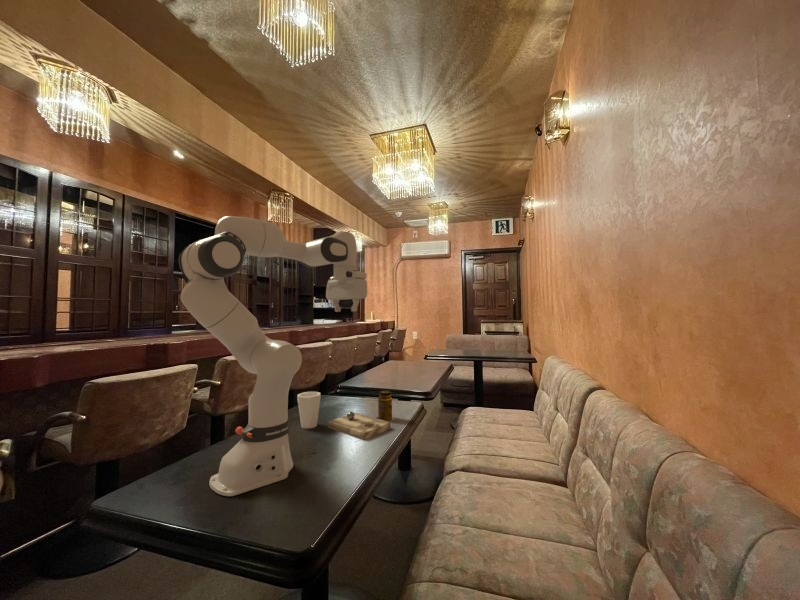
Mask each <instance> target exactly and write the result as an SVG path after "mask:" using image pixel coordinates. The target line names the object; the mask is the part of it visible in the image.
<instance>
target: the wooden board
mask: <svg viewBox="0 0 800 600" xmlns="http://www.w3.org/2000/svg"><path fill="white" fill-rule="evenodd" d="M353 413H354V414H355V416H354V418H353V419H352V420H349V419H348V418H347V414H346V415H344V416H339V417H337V418H335V419H332V420H328V421H327V428H328V429H330V430H332V431H333V430H334V431H337V432H339V433H342V434H345V435H348V436H351V437H354V438H355V439H359V440H362V441H365V440H367V439H369V438H372V437H374V436H376V435H379V434H381V433H384V432H386V431H388V430H390V429H392V428H391V421H388V422H387V421H384V420H380V419H377V417H372V416H369V415H365V414H362V413H358V412H353Z"/></svg>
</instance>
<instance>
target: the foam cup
mask: <svg viewBox="0 0 800 600" xmlns="http://www.w3.org/2000/svg"><path fill="white" fill-rule="evenodd" d="M296 396H297V397H296V398H297V399H296V400H297V405H298V406H297V407H298V414H299V418H300V419H299V420H300V426H301V428H302V429H307V430H309V429H314V428H315V427H317V426H318V419H319V412H320V404H321V399H322V398H321V397H322V396H321V392H318V391H306V392H305V391H303V392H301V393H298V394H297V395H296Z"/></svg>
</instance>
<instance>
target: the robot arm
mask: <svg viewBox="0 0 800 600" xmlns="http://www.w3.org/2000/svg"><path fill="white" fill-rule="evenodd" d="M245 255H246V256H251V257H259V258H281V259H286V260H290V261H291V260H292V261H296V262H298V263H299V264H301V265H303V266H305V267H306V268H310V269H311V268H316V267H321V266H326V265H331V264H332V265H333V276H330V277H329V279H328V280H327V284H326V289H325V298H326V300H328V301H332V305H333V306H334V312H336V313H338V312H339V313H340V312H341V311H342V307H341V306H340V304H339V303H340V300H341V301H343V300H352V303H353V304H352V306H350V310H351V311H350V312H357V311H358V306H359V303H360V299H366V298H367V296H368V282H367V280H366V279H367V277H368V275H367V273H366V272H363V271H360V270H358V266H357V256H358V248H357V241H356V237H355V235H354V234H352V233H351V232H349V231H343V230H341V231H337V232H335V233H334V234H332V235H330V236H326V237H322V238H321V237H320V238H319V239H318V238H317V239H314V240H313V239H312V240H309V241H308V240H307V241H304V242H303V241H302V242H300V243H298V242H295V241H291V240H287V239H285V234H284V232H283V230H282V229H281V227H280V226H279V225H277V224H274V223H272V222H269V221H266V220H262V219H258V218H254V217H246V216H235V215H234V216H233V215H228V216H223V217H222V218H220V219H219V220H218V222H217V224H216V226H215V229H214V235H213V236H209V237H206V238H202V239H201V238H200V239H198V240H196V241H194V242H193V243H191V244H189V245H186V246H185V247H184V248H183V249H182V250H181V251H180V253H179V256H178V265H179V269H180V271H181V273H182V277H183V279H184V282H185V283H186V285H184V287H183V289H182V291H181V293H180V302H181V304H183V306H184V307H185V308H186V310H187V311H188V312H189V313H190V315H191V316H192V318H194V319H195V320H196V321H197V322H198V323H199V324H200V326H202V327H203V328H204V329H206V330H207V331H208V332H209V333H210V334H211V335H212V336H213V337H214V338H216V339H217V340H218V341H219V342H220V343H221V344H222V345H223V346H224V347H225V348H226V349H227V350H228V351H229V353H230V354H231V355H232V356H233V357H234V359H235V360H236V361H237V362H238V365H240V367H241V368H243V369H244V370H245V371H247V372H248V373H250V374H255V375H256V380H255V386H254V388H253V391H252V393H251V394H250V395H249V397H248V423H247V424H246V426H245V427H242V426H240V425H239V426H237V427H236V428H235V429H234V430H235V433H236V434H238V436H241V439H240V440H239V441H238V442H237V443H236V444H234V446H233V447H232V448H231V449H230V450H229V451H228V452H227V453H226V454H224V455H223V456H222V457H221V460H220V462H219V468H218V473H216V474H213V475H211V476H210V479H209V483H208V484H209V487H210V489H211V490H212V491H214V492H215V493H216V494H218V495H221V496H223V497H224V496H225V497H234V496H237V495H240V494H244V493H246V492H249V491H252V490H256V489H259V488H261V487H265V486H268V485H271V484H273V483H276V482H280V481H282V480H285V479H287V478H288V477H289V473H290V471H291V470H292V469H293V467H294V462H293V458H292V455H291V450H290V442H289V436H290V435H289V434H290V418H289V417H288V415H289V413H288V411H289V409H288V407H289V406H288V405H289V391H290V387H291V384H292V380H293V377H294V376H295V374H297V372H298V371H299V370H300V368H301V366H302V363H303V362H302V361H303V358H302V357H303V356H302V353H301V351H300V349H299V347H297V346H296V345H294V344H292V343H290V342H288V341H286V340H280V339H272V338H269V337H268V336H267V335H266V334H265V333H264V332H263V330H262V329H261V327H260V325H259V323H258V322H259V321H258V319H257V317H256V316H254V314H252V313H251V312H250V310H249V309H248V308H247V307H246V306H245V305H244V304H243V303H242V302H241V301H240V300H239V299H238V298H237V297H236V296H235V295H234V294H232V293H231V292H230V290H229V289H228V287H227V285H226V283H225V278H227V277H231V276H233V275H234V274H236V273H238V272H239V270H240V269H241V268H242V267H243V264H244V260H245Z"/></svg>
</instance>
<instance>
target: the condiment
mask: <svg viewBox="0 0 800 600" xmlns="http://www.w3.org/2000/svg"><path fill="white" fill-rule="evenodd" d="M377 404H378V405H377V408H378V409H377V410H378V411H377V412H378V413H377V414H378V416H377V417H376V418H377V419H380V420H384V421H387V422H391V421H395V420H396V418H395V417H393V398H392V391H390V390H380V391H379V392H378V400H377Z"/></svg>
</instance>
